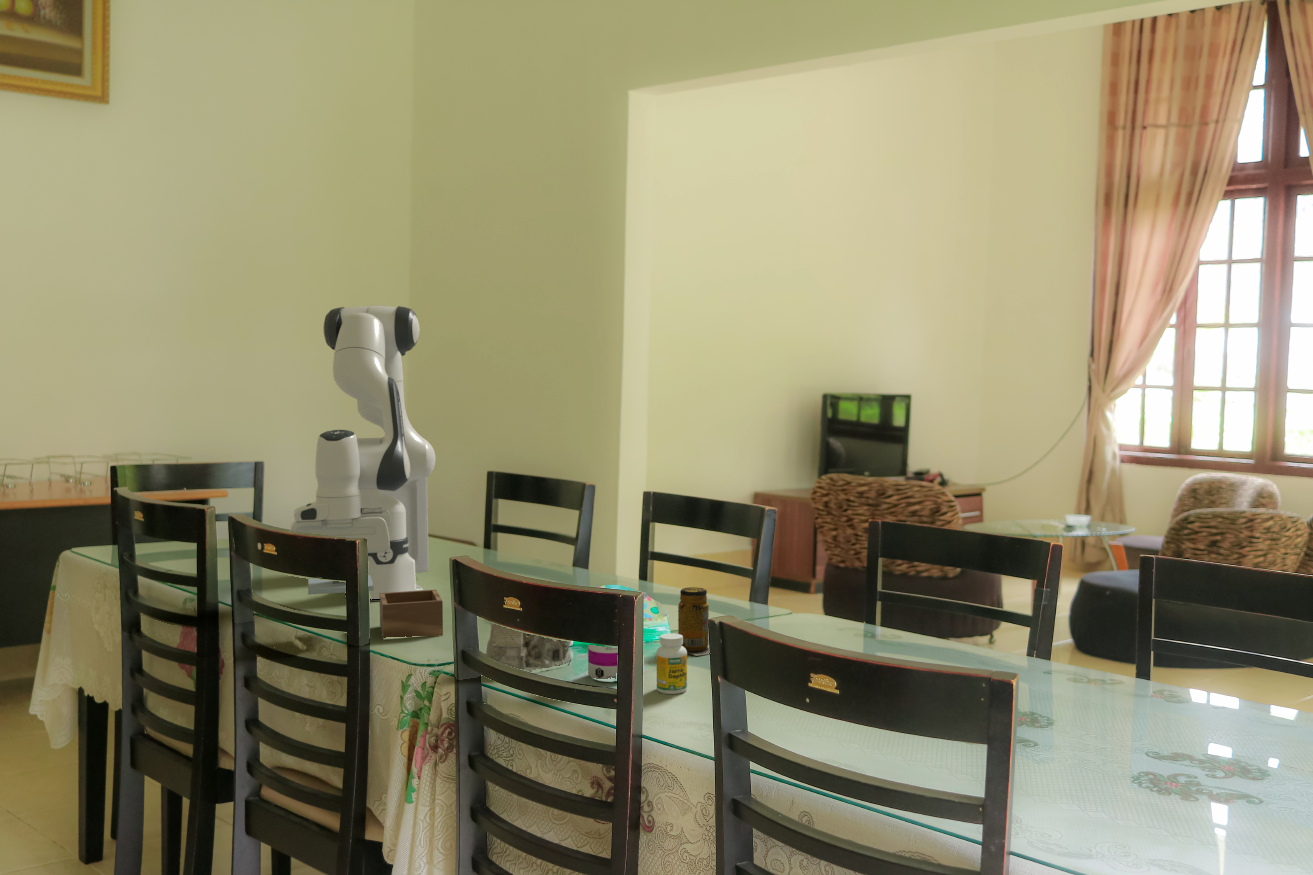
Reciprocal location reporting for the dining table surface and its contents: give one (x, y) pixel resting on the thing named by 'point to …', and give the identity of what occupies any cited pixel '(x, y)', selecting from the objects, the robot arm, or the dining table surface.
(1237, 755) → the dining table surface
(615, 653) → the supplement can
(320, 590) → the lid
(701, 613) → the condiment
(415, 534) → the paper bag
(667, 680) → the supplement bottle
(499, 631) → the ceramic cottage
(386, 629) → the box
